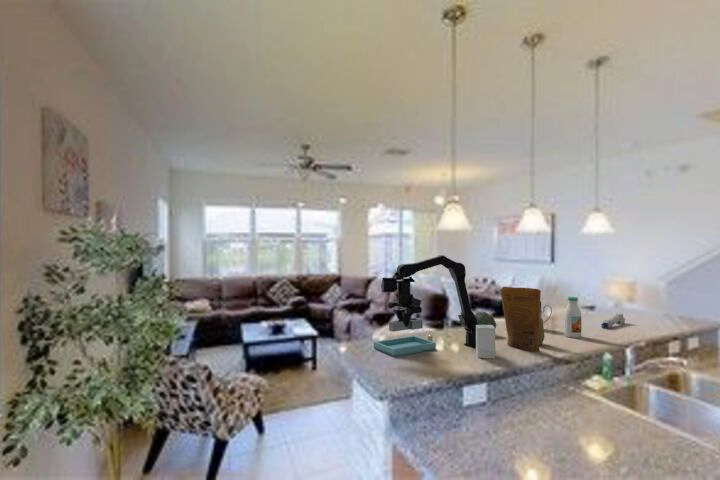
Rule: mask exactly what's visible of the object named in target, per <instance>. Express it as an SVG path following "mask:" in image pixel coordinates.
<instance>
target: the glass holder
mask: <svg viewBox="0 0 720 480" xmlns="http://www.w3.org/2000/svg"><path fill="white" fill-rule="evenodd" d="M546 307H549V308H550V315H549V316H548V318H547V319H546V320H545V321H543V324H545V323H546V322H547V321H549V320H550V318H551V316H552V314H553V308H552V306H551V305H548V304H547V305H544V306H543V309H542V301H541V300H540V314H541V317H540V318H541V319H542V318H543V317H542V314H543V313H544V312H545V308H546ZM542 310H543V311H542ZM542 320H543V319H542Z"/></svg>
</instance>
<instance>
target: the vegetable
mask: <svg viewBox="0 0 720 480" xmlns="http://www.w3.org/2000/svg"><path fill="white" fill-rule="evenodd" d="M474 315H475V317H476V319H477V322H478V325H493V326H494V328H495V330H496V329H497V328H496V327H497V323H496V321H495V318H494V317H493V316H492V314H489V313H487V312H486V311H482V312H476V313H475V314H474Z"/></svg>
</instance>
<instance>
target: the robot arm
mask: <svg viewBox="0 0 720 480" xmlns="http://www.w3.org/2000/svg"><path fill="white" fill-rule="evenodd" d="M440 265H441V266H443V267H444V268H445V269H448V272H449V274H450V277H451V278H452V280H453V281H454V284H455V288H456V293H457V296H458V297H457V298H458V301H459V306H460V311H461V312H460V314H458V319H459V324H461V326H462V327H463V328H464V331H466V332H465V343H463V345H464V346H467V347H470V348H476V325H478V322H477V319H476V317H475V314H474V312H473V310H472V307H471V302H470V299H469V294H468V289H467V285H466V274H467V272H466V266H465V265H464V263H462V262H456V261H455V260H452V259H451V258H449V257H447V256H446V255H441V254H439V255H437V256H435V257H431V258H428V259H424V260H421V261H417V262H413V263H401V264H399V265H398V266H397V268H396V271H395V273H394V274H393V275H392V277H385V276H384V277H382V280H381V284H380V288H381V289H380V290H381V293H386V294H387V293H396V291H397V293H396V294H395V296H396V297H397V301H396V300H394V301H390V302H388V303H387V308H388V309H393V308H394V309H393V310H392V311H393V312H394V314H395V315H396V318H397V319H398V320H404V323H405V326H406V327H408V325H409V322H410V319H411V318H412V316H413V315H414V314H420V313H421V314H422V313H423V307H422V306H421V304H422V300H421V299H418V298H416V297H414V294H413V293H411V292H412V291H411V283H416V281H415V279H413V277H412V276H413V275H416V274H417V273H418V272H420V271H423V270H427V269H429V268H430V269H431V268H433V267H437V266H440ZM398 320H397V321H398Z"/></svg>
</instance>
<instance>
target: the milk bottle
mask: <svg viewBox="0 0 720 480" xmlns="http://www.w3.org/2000/svg"><path fill="white" fill-rule="evenodd" d="M578 302H579V297H577V296H568V297H567V306H566V308H565V310H564V317H563V320H564V325H563V327H564V328H563V329H564V334H563V335H564V336H565V337H567V338H571V339H579V338H582V311H581V309H580V307H579V304H578Z"/></svg>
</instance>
